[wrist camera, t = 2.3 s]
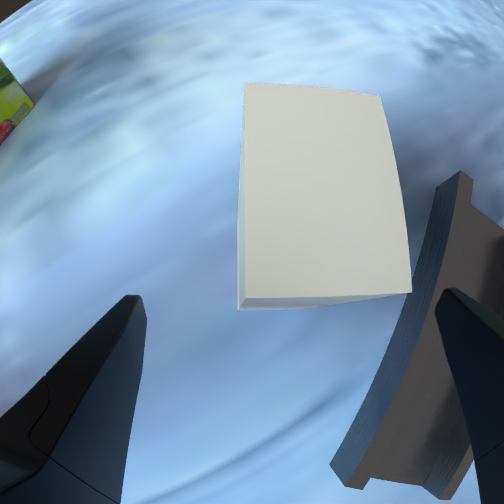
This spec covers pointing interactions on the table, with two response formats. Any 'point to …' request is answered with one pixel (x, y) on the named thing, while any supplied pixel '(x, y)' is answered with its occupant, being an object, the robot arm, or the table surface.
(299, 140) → the cream rectangular block
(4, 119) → the snack box
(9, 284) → the table surface
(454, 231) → the bottom track
